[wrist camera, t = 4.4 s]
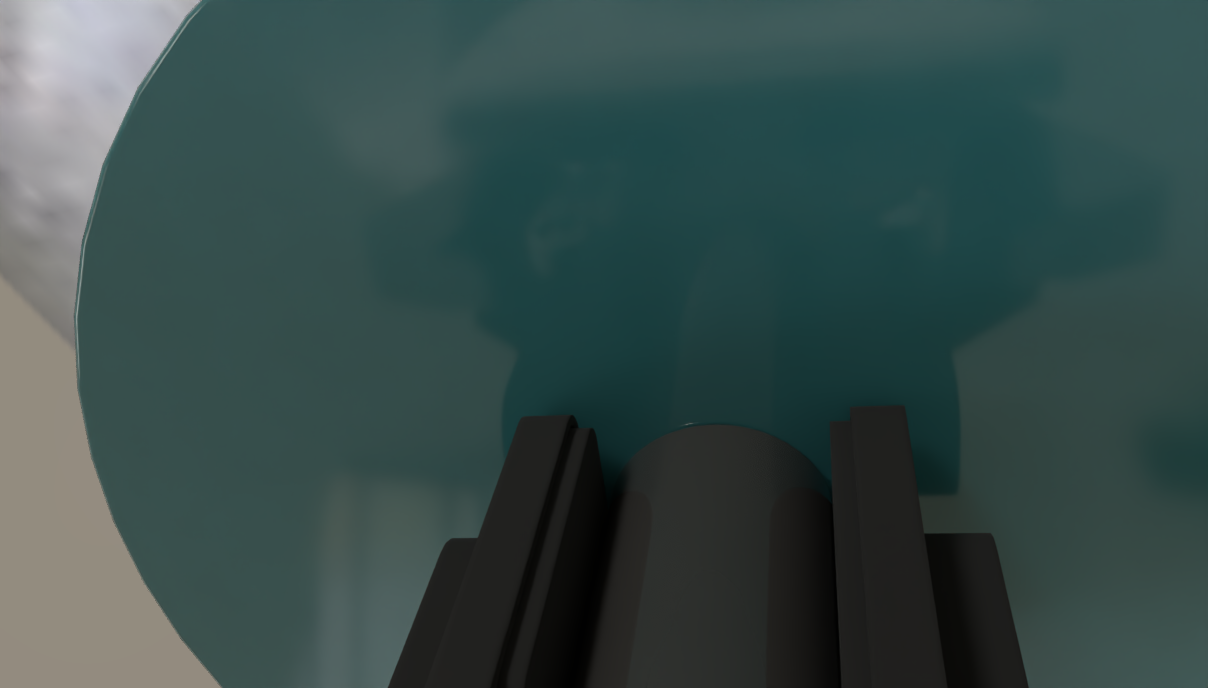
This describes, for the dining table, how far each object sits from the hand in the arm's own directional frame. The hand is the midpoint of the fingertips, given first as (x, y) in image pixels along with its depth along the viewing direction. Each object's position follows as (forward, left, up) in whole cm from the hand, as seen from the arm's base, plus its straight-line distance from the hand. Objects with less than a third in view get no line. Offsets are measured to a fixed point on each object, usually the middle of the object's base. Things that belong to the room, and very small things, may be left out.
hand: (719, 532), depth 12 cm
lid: (0, 0, -1) cm, 1 cm away
